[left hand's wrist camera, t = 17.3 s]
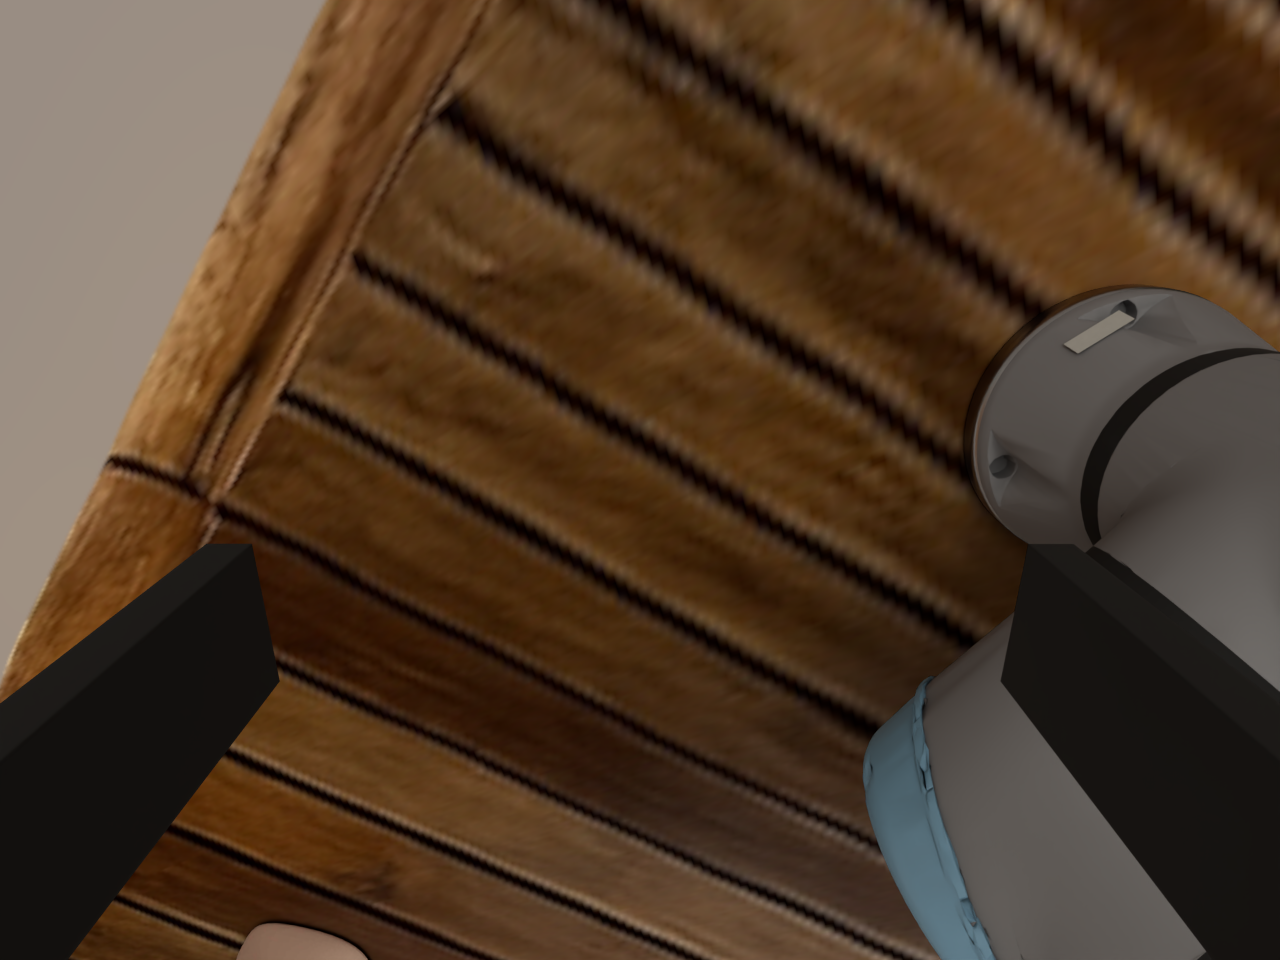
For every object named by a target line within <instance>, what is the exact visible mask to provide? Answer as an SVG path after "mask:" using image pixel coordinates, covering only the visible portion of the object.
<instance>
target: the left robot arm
mask: <svg viewBox="0 0 1280 960" xmlns="http://www.w3.org/2000/svg"><path fill="white" fill-rule="evenodd" d="M964 452H965V461H966V467H967V471H968V474H969V478H970V481H971V483H972V485H973V488H974V490H975V492H976V494H977V495H978V497H979V499H980V501H981V502H982V503H983V505H984V506H985V507H986V509H987V510H988V511H989V512H990V513H991V514H992V515H993V516H994V517H995V518H996V519H997V520H998V521H999V522H1000V523H1002V524H1003V525H1004V526H1005V527H1006V528H1007V529H1009V530H1010V531H1011V532H1012V533H1013V534H1014V535H1016V536H1017V537H1019V538H1020V539H1022V540H1023V541H1025V542H1027V543H1029V544H1028V548H1027V553H1026V557H1025V562H1024V567H1023V572H1022V577H1021V582H1020V587H1019V592H1018V597H1017V602H1016V607H1015V611H1014V612H1013V613H1012V614H1011V615H1010V616H1008V617H1007V618H1006V619H1005V620H1004V621H1002V622H1001V623H1000V624H999V625H998V626H996V627H995V628H994V629H993V630H992V631H990V632H989V633H988V634H987V635H986V636H984V637H983V638H982V639H981V640H980V641H978V642H977V643H976V644H975V645H974V646H972V647H971V648H970V649H969V650H968V651H966V652H965V653H964V654H963V655H962V656H960V657H959V658H958V659H957V660H956V661H954V662H953V663H952V664H951V665H950V666H948V667H947V668H946V669H945V670H943V671H942V672H941V673H940V674H939V675H937V676H936V677H934V676H929V677H928V678H926V679H925V680H923V681H922V682H921V683H920V685H919V686H918V688H917V690H916V693H915V696H914V697H913V698H911V699H910V700H909V701H908V702H907V703H906V704H905V705H904V706H903V707H902V708H901V709H900V710H899V711H897V712H896V713H895V714H894V715H893V716H892V717H891V718H890V719H889V720H888V721H887V722H886V723H885V724H883V725H882V726H881V727H880V728H879V729H878V730H877V731H876V733H875V734H874V735H873V737H872V739H871V740H870V742H869V745H868V747H867V749H866V753H865V756H864V763H863V782H864V787H865V792H866V794H865V796H866V805H867V809H868V813H869V817H870V820H871V824H872V827H873V830H874V833H875V836H876V839H877V841H878V844H879V847H880V849H881V852H882V854H883V856H884V859H885V861H886V863H887V866H888V868H889V870H890V872H891V874H892V877H893V879H894V881H895V883H896V885H897V887H898V889H899V891H900V893H901V894H902V896H903V898H904V900H905V902H906V904H907V906H908V907H909V909H910V911H911V913H912V914H913V916H914V918H915V920H916V921H917V923H918V925H919V926H920V928H921V930H922V931H923V933H924V934H925V936H926V938H927V939H928V941H929V942H930V944H931V945H932V947H933V948H934V950H935V951H936V953H937V954H938V955H939V957H940V958H941V959H942V960H1280V352H1278V351H1277V350H1276V349H1274V348H1273V347H1272V346H1271V345H1269V344H1268V343H1267V342H1266V341H1264V340H1263V339H1262V338H1261V337H1259V336H1258V335H1257V334H1255V333H1254V332H1253V331H1252V330H1250V329H1249V328H1248V327H1247V326H1245V325H1244V324H1243V323H1242V322H1240V321H1239V320H1238V319H1237V318H1235V317H1234V316H1233V315H1231V314H1230V313H1229V312H1227V311H1226V310H1224V309H1223V308H1221V307H1220V306H1218V305H1216V304H1214V303H1212V302H1210V301H1208V300H1206V299H1204V298H1202V297H1200V296H1197V295H1194V294H1191V293H1188V292H1185V291H1180V290H1175V289H1169V288H1163V287H1156V286H1149V285H1117V286H1108V287H1104V288H1099V289H1094V290H1091V291H1088V292H1084V293H1081V294H1078V295H1076V296H1073V297H1071V298H1069V299H1066V300H1064V301H1062V302H1060V303H1058V304H1056V305H1054V306H1052V307H1051V308H1049V309H1047V310H1046V311H1044V312H1043V313H1041V314H1039V315H1038V316H1037V317H1035V318H1034V319H1033V320H1031V321H1030V322H1028V323H1027V324H1026V325H1025V326H1024V327H1022V328H1021V329H1020V330H1019V331H1018V332H1017V333H1016V334H1015V335H1014V336H1013V337H1012V338H1011V339H1010V340H1009V341H1008V342H1007V343H1006V344H1005V345H1004V346H1003V347H1002V349H1001V350H1000V351H999V352H998V354H997V355H996V356H995V357H994V359H993V360H992V362H991V363H990V365H989V366H988V368H987V369H986V371H985V373H984V375H983V376H982V378H981V380H980V382H979V384H978V386H977V388H976V391H975V393H974V395H973V398H972V401H971V404H970V407H969V411H968V415H967V419H966V426H965V434H964ZM278 683H279V676H278V671H277V666H276V661H275V656H274V651H273V646H272V641H271V636H270V631H269V626H268V622H267V617H266V612H265V607H264V602H263V597H262V592H261V587H260V582H259V577H258V572H257V567H256V562H255V557H254V553H253V548H252V544H206V545H204V546H203V547H202V548H201V549H199V550H198V551H197V552H195V553H194V554H193V555H191V556H190V557H189V558H188V559H186V560H185V561H184V562H182V563H181V564H180V565H179V566H177V567H176V568H175V569H173V570H172V571H171V572H170V573H168V574H167V575H166V576H164V577H163V578H162V579H160V580H159V581H158V582H157V583H155V584H154V585H153V586H151V587H150V588H149V589H148V590H146V591H145V592H144V593H142V594H141V595H140V596H139V597H137V598H136V599H135V600H133V601H132V602H131V603H129V604H128V605H127V606H126V607H124V608H123V609H122V610H120V611H119V612H118V613H117V614H115V615H114V616H113V617H111V618H110V619H109V620H108V621H106V622H105V623H104V624H102V625H101V626H100V627H98V628H97V629H96V630H95V631H93V632H92V633H91V634H89V635H88V636H87V637H86V638H84V639H83V640H82V641H80V642H79V643H78V644H77V645H75V646H74V647H73V648H71V649H70V650H69V651H67V652H66V653H65V654H64V655H62V656H61V657H60V658H58V659H57V660H56V661H55V662H53V663H52V664H51V665H49V666H48V667H47V668H46V669H44V670H43V671H42V672H40V673H39V674H38V675H36V676H35V677H34V678H33V679H31V680H30V681H29V682H27V683H26V684H25V685H24V686H22V687H21V688H20V689H18V690H17V691H16V692H15V693H13V694H12V695H11V696H9V697H8V698H7V699H6V700H4V701H3V702H2V703H0V960H68V958H69V957H70V956H71V954H72V953H73V952H74V951H75V949H76V948H77V947H78V945H79V944H80V943H81V941H82V940H83V939H84V937H85V936H86V935H87V933H88V932H89V931H90V930H91V928H92V927H93V926H94V924H95V923H96V922H97V920H98V919H99V918H100V916H101V915H102V914H103V912H104V911H105V910H106V909H107V907H108V906H109V905H110V903H111V902H112V901H113V899H114V898H115V897H116V895H117V894H118V893H119V891H120V890H121V889H122V888H123V886H124V885H125V884H126V882H127V881H128V880H129V878H130V877H131V876H132V874H133V873H134V872H135V870H136V869H137V868H138V867H139V865H140V864H141V863H142V861H143V860H144V859H145V857H146V856H147V855H148V853H149V852H150V851H151V849H152V848H153V847H154V846H155V844H156V843H157V842H158V840H159V839H160V838H161V836H162V835H163V834H164V832H165V831H166V830H167V828H168V827H169V826H170V825H171V823H172V822H173V821H174V819H175V818H176V817H177V815H178V814H179V813H180V811H181V810H182V809H183V807H184V806H185V805H186V804H187V802H188V801H189V800H190V798H191V797H192V796H193V794H194V793H195V792H196V790H197V789H198V788H199V786H200V785H201V784H202V783H203V781H204V780H205V779H206V777H207V776H208V775H209V773H210V772H211V771H212V769H213V768H214V767H215V765H216V764H217V763H218V762H219V760H220V759H221V758H222V756H223V755H224V754H225V752H226V751H227V750H228V748H229V747H230V746H231V744H232V743H233V742H234V741H235V739H236V738H237V737H238V735H239V734H240V733H241V731H242V730H243V729H244V727H245V726H246V725H247V723H248V722H249V721H250V720H251V718H252V717H253V716H254V714H255V713H256V712H257V710H258V709H259V708H260V706H261V705H262V704H263V702H264V701H265V700H266V699H267V697H268V696H269V695H270V693H271V692H272V691H273V689H274V688H275V687H276V685H277V684H278Z"/></svg>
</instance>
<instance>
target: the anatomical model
mask: <svg viewBox="0 0 1280 960" xmlns="http://www.w3.org/2000/svg"><path fill="white" fill-rule="evenodd" d="M236 960H368V959H367V958H366V956H365V955H364V954H363V953H362V952H361V951H360V950H359V949H358V948H356V947H355V946H353V945H352V944H350V943H349V942H347V941H345V940H343V939H340V938H338V937H335V936H333V935H330V934H327V933H324V932H321V931H317V930H313V929H309V928H304V927H300V926H295V925H288V924H281V923H267V924H262V925H259V926H257V927H256V928H254V929H253V930H252V931H251V933H250V934H249V935H248V937H247V938H246V940H245V942H244V944H243V946H242V947H241V949H240V951H239V953H238V956H237V959H236Z"/></svg>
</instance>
